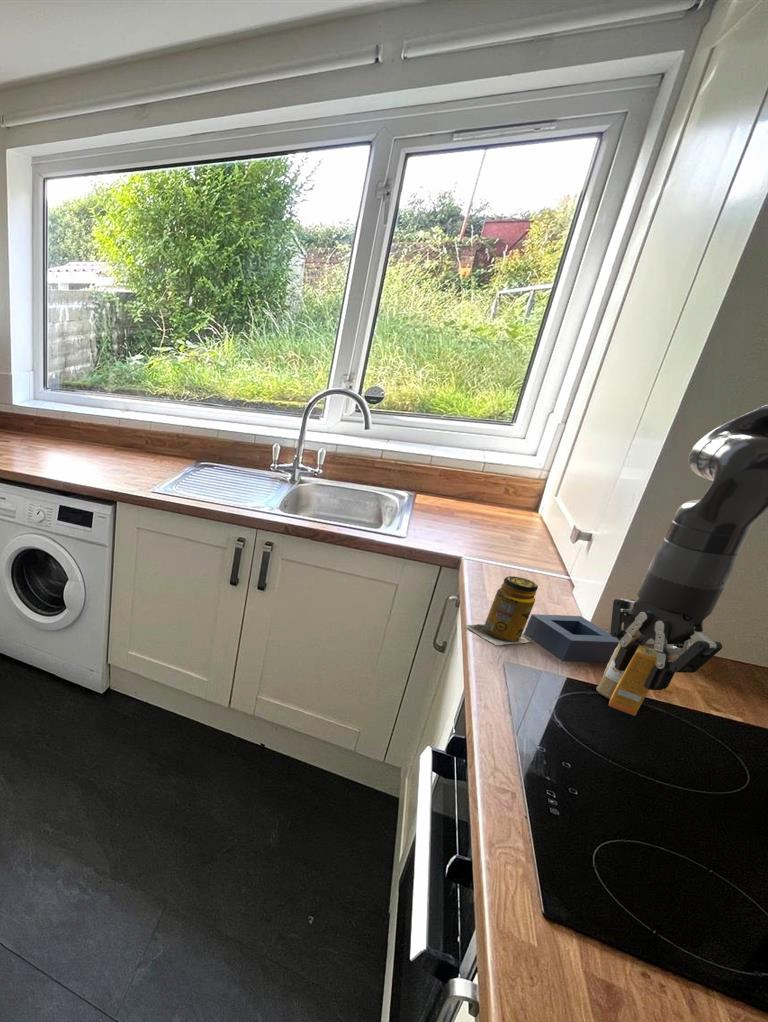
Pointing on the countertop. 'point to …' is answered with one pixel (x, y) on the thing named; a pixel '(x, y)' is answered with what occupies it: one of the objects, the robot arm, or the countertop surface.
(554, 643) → the socket block
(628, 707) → the supplement box
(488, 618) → the condiment
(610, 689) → the sprinkles bottle
